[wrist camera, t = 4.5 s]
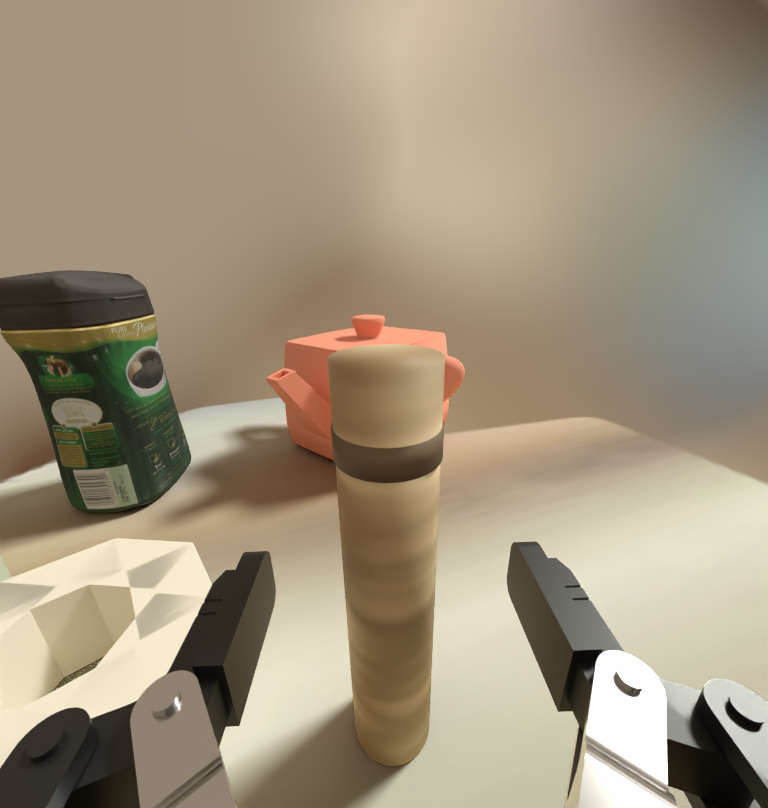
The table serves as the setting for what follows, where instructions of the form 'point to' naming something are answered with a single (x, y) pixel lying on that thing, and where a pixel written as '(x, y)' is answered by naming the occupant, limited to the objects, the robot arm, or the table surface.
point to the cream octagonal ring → (93, 629)
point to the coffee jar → (98, 384)
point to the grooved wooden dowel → (389, 534)
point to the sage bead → (4, 571)
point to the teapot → (309, 377)
